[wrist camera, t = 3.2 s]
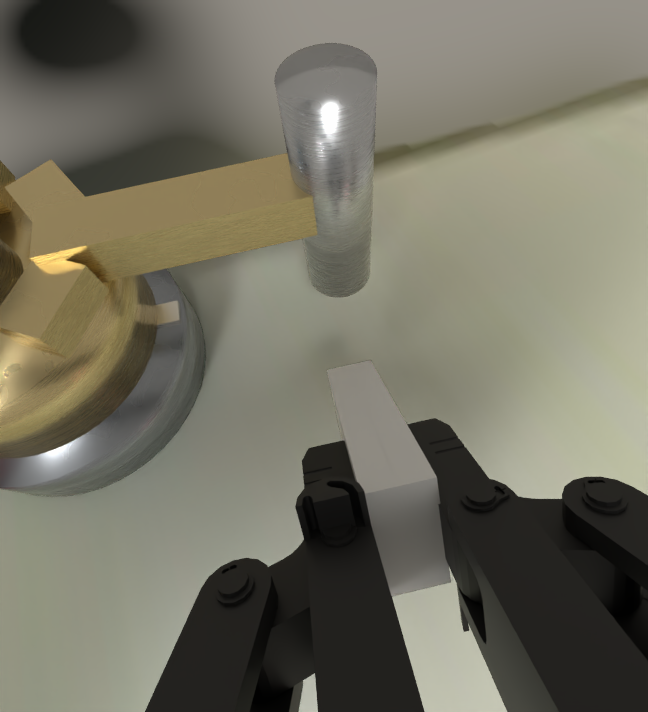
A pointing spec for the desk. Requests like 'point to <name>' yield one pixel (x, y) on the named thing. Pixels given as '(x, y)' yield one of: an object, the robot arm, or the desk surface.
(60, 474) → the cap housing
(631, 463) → the desk surface
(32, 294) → the geared crank handle
